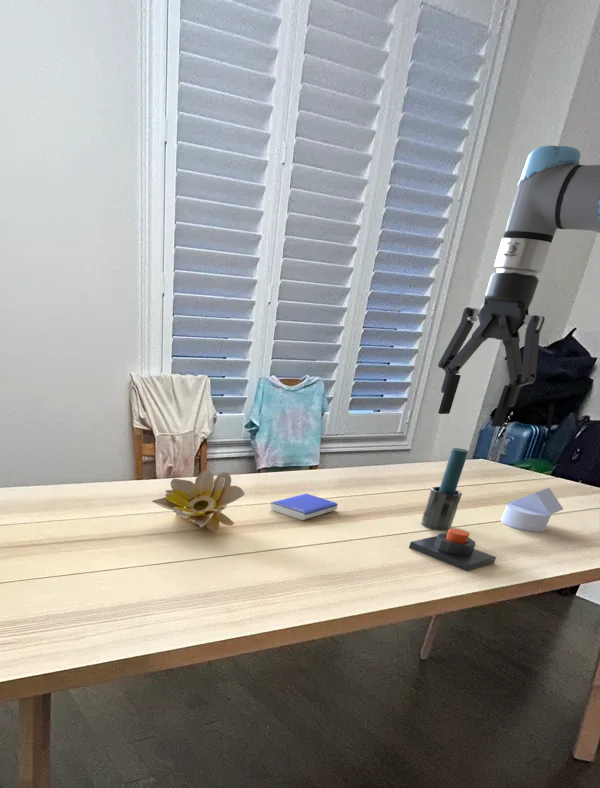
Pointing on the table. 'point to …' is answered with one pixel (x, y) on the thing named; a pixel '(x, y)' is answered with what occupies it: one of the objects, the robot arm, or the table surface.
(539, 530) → the wedge on round base
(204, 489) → the decorative flower
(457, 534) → the power button
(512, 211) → the robot arm
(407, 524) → the table surface
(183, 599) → the table surface
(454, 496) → the pen holder
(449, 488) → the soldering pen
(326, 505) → the hard drive
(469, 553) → the station
